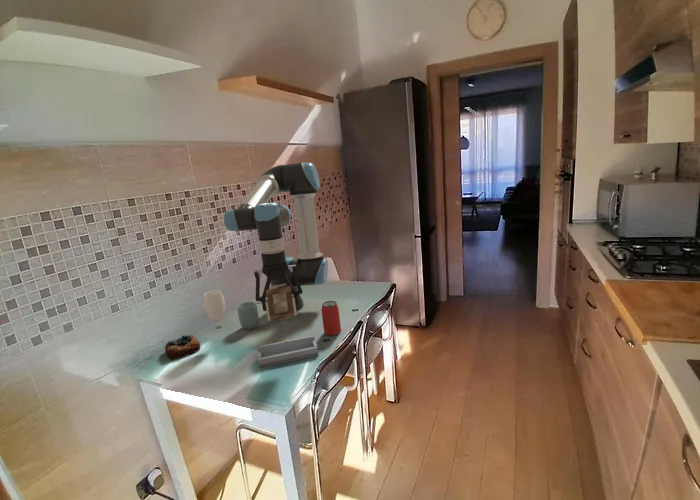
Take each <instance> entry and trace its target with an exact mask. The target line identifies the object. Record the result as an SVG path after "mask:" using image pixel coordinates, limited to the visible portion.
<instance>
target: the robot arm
mask: <svg viewBox="0 0 700 500" xmlns="http://www.w3.org/2000/svg"><path fill="white" fill-rule="evenodd" d="M320 185H321V182H320V178H319V173H318V170H317V168H316V166H315V164H314V163H312V162H297V163H289V164H280V165H279V164H278V165H275V166H273V167H271V168H269V169H268V170H266V171H264V172H263V173H262V174H261V175H260V176H259V177H258V178H257V180H256V183H255V186H254V187H253V189H251V191H250V192H249V194H248V195H247V196H246V197H245V199H244V200H243V201H242V202H241V204H240V205H239V206H238V207H237V208H232V209H228V210H226V211H225V213H224V216H223V222H224V226H225V228H226V229H227V231H230V232H242V231H243V232H244V231H252V230H253V231H255V230H257V235H258V245H259V249H260V255H261V262H262V268H261V269H259V270H254V273H253V274H254V277H255V301H256V302H261V306H262V311H263V312H266V316H267V321H270V322H271V320H270V314H269V307H268V301H267V295H266V289H269V286H274V285H280V284H287V286H291V293H292V300H293V307H294V314H295V316H298V314H297V311H299V310H300V309H302V308H303V307H304V299H303V298H302V296H301V294H303V290H302V287H303V286H317V285H319V286H320V285H324V284H325V283H326V282H327V278H328V272H329V270H328V269H329V263H328V259H327V258H325V257H324V254H323V253H322V252H321V251H320V246H319V237H318V227H317V216H316V209H315V196H316V195H317V190H319V189H320V188H321V187H320ZM279 193H289V196H290V198H292V199H293V203H294V210H295V219H296V229H297V230H296V231H297V238H298V245H299V254H298V255H297V258H296V260H295V258H294V257H293V256H286V252H285V250H284V249H285V244H284V238H283V231H282V228H284V227H285V226H287V225H288V224H289V223H290V221H291V220H292V211H291V209H290V208H289V207H288V206H286V205H285V204H278V203H277V202H269V201H270V200H271V199H272V197H275V196H276V195H277V194H279ZM262 274H263V275H264V276H266V281H265V285H264V288H263V291H262V295H261V294H260V287H261V285H260V283H261V281H260V280H261V278H262ZM260 295H261V296H260Z"/></svg>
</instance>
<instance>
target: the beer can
mask: <svg viewBox="0 0 700 500" xmlns="http://www.w3.org/2000/svg"><path fill="white" fill-rule="evenodd" d="M340 317H341V316H340V310H339V306H338V303H337V301H336V300H326V301H325V302H323V303H322V304H321V318H322V319H321V320H322V326H323V333H324V334H325V335H326V336H328V337H329V336H331V337H332V336H336V335H339V334H340V333H341V331H342V328H341V319H340Z"/></svg>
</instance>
